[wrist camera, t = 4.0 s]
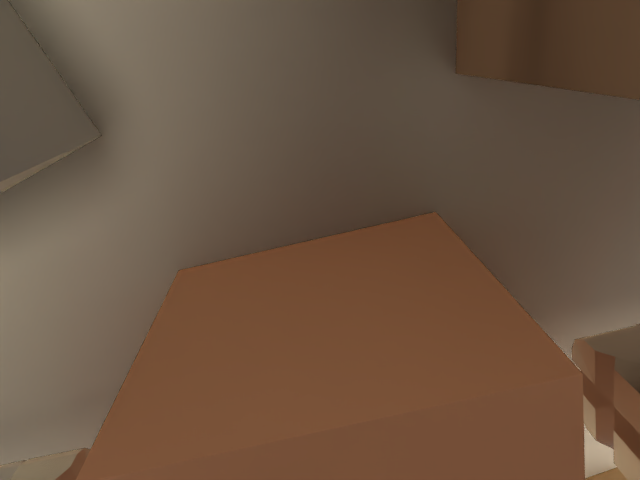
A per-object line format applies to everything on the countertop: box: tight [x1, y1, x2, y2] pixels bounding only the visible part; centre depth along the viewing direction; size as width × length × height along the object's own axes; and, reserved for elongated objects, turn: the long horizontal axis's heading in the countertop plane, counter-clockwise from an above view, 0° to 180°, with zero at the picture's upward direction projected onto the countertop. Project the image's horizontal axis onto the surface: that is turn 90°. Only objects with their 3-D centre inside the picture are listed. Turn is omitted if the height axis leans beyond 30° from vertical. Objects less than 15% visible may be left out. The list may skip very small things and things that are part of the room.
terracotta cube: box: [76, 212, 585, 480], centre depth 8 cm, size 5×5×5 cm
